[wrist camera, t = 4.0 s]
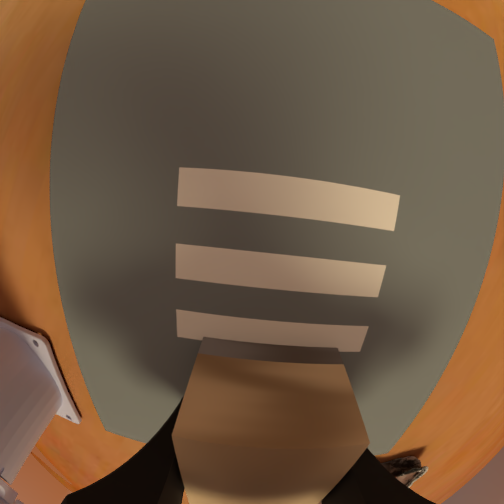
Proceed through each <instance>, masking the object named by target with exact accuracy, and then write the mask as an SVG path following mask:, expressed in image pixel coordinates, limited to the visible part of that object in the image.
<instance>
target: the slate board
mask: <svg viewBox="0 0 504 504" xmlns="http://www.w3.org/2000/svg"><path fill="white" fill-rule="evenodd" d="M503 179H504V98H503V89H502V81H501V74H500V68H499V62H498V57H497V52H496V48H495V43H494V39H492V38H491V37H490V36H488V35H487V34H486V33H484V32H483V31H481V30H480V29H479V28H477V27H476V26H474V25H473V24H471V23H470V22H468V21H467V20H465V19H463V18H462V17H460V16H459V15H457V14H455V13H453V12H452V11H450V10H448V9H447V8H445V7H443V6H441V5H439V4H437V3H435V2H434V1H432V0H86V1H85V4H84V6H83V8H82V11H81V14H80V16H79V19H78V22H77V24H76V27H75V30H74V33H73V36H72V39H71V43H70V46H69V49H68V53H67V57H66V60H65V64H64V68H63V73H62V77H61V82H60V87H59V92H58V97H57V103H56V110H55V117H54V124H53V133H52V144H51V159H50V215H51V231H52V242H53V251H54V259H55V266H56V273H57V279H58V285H59V291H60V296H61V301H62V305H63V310H64V314H65V318H66V323H67V326H68V330H69V334H70V338H71V341H72V345H73V348H74V351H75V355H76V358H77V361H78V364H79V367H80V370H81V373H82V375H83V378H84V381H85V384H86V386H87V389H88V391H89V394H90V396H91V399H92V401H93V404H94V406H95V408H96V411H97V413H98V415H99V417H100V419H101V422H102V424H103V426H104V428H105V430H106V431H109V432H112V433H115V434H118V435H121V436H124V437H127V438H130V439H133V440H137V441H140V442H143V443H148V441H149V440H150V439H151V438H152V437H153V436H154V435H155V434H156V433H157V432H158V431H159V429H160V428H161V427H162V426H163V424H164V423H165V422H166V421H167V420H168V418H169V417H170V415H171V414H172V413H173V411H174V410H175V408H176V407H177V405H178V404H179V402H180V401H181V399H182V397H183V396H184V395H185V391H186V388H187V385H188V382H189V379H190V376H191V373H192V370H193V367H194V364H195V361H196V358H197V354H198V351H199V348H200V345H201V342H202V339H203V337H210V338H217V339H225V340H233V341H242V342H252V343H263V344H274V345H288V346H304V347H328V348H338V350H339V353H340V356H341V358H342V361H343V364H344V367H345V369H346V372H347V375H348V378H349V381H350V384H351V386H352V389H353V392H354V395H355V398H356V401H357V404H358V407H359V410H360V413H361V416H362V419H363V422H364V425H365V428H366V432H367V435H368V438H369V441H370V444H369V446H368V447H367V448H368V449H369V450H370V452H371V453H372V454H373V455H379V454H385V453H388V452H389V451H390V450H391V449H392V447H393V446H394V445H395V444H396V442H397V441H398V440H399V439H400V437H401V436H402V435H403V433H404V432H405V431H406V429H407V428H408V427H409V425H410V424H411V423H412V421H413V420H414V418H415V417H416V416H417V414H418V413H419V411H420V410H421V408H422V407H423V405H424V404H425V402H426V401H427V399H428V397H429V396H430V394H431V393H432V391H433V389H434V388H435V386H436V384H437V383H438V381H439V379H440V377H441V376H442V374H443V372H444V370H445V368H446V367H447V365H448V363H449V361H450V359H451V357H452V355H453V353H454V351H455V349H456V347H457V345H458V343H459V341H460V338H461V336H462V334H463V332H464V329H465V327H466V325H467V322H468V320H469V318H470V315H471V313H472V310H473V307H474V305H475V302H476V299H477V296H478V294H479V291H480V288H481V285H482V282H483V278H484V275H485V272H486V269H487V265H488V261H489V258H490V254H491V250H492V246H493V241H494V237H495V232H496V227H497V222H498V217H499V211H500V204H501V197H502V189H503Z"/></svg>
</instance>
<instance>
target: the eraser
mask: <svg viewBox="0 0 504 504" xmlns="http://www.w3.org/2000/svg"><path fill="white" fill-rule="evenodd" d="M172 440H173V444H174V449H175V453H176V457H177V461H178V465H179V469H180V473H181V477H182V480H183V484H184V488H185V491H186V494H187V498H188V501H189V504H318V503H319V502H320V501H321V500H322V499H323V498H324V497H325V496H326V495H327V494H328V493H329V492H330V491H331V490H332V489H333V488H334V487H335V486H336V485H337V483H338V482H339V481H340V480H341V479H342V478H343V477H344V476H345V474H346V473H347V472H348V471H349V470H350V468H351V467H352V466H353V465H354V464H355V462H356V461H357V460H358V459H359V457H360V456H361V455H362V454H363V452H364V451H365V450H366V448H367V447H368V446H369V444H370V441H369V438H368V435H367V432H366V428H365V425H364V422H363V419H362V416H361V413H360V410H359V407H358V404H357V401H356V398H355V395H354V392H353V389H352V386H351V384H350V381H349V378H348V375H347V372H346V369H345V367H344V364H343V361H342V358H341V356H340V353H339V350H338V348H328V347H304V346H288V345H274V344H263V343H252V342H242V341H233V340H225V339H217V338H210V337H203V339H202V342H201V345H200V348H199V351H198V354H197V358H196V361H195V364H194V367H193V370H192V373H191V376H190V379H189V382H188V385H187V388H186V391H185V395H184V398H183V401H182V404H181V407H180V410H179V413H178V417H177V420H176V423H175V426H174V429H173V433H172Z"/></svg>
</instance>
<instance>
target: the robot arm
mask: <svg viewBox="0 0 504 504" xmlns="http://www.w3.org/2000/svg"><path fill="white" fill-rule="evenodd" d="M183 398H184V396H183V397H182V399H181V401H180V402H179V404H178V405H177V407H176V408H175V410H174V411H173V413H172V414H171V415H170V417H169V418H168V420H167V421H166V422H165V423H164V424H163V426H162V427H161V428H160V429H159V431H158V432H157V433H156V434H155V435H154V436H153V437H152V438H151V439H150V440H149V441H148V443H147V444H146V445H145V446H144V447H143V448H142V449H141V450H139V451H138V452H137V453H136V454H135V455H134V456H133V457H132V458H130V459H129V460H128V461H127V462H125V463H124V464H123V465H121V466H120V467H119V468H117V469H116V470H115V471H113V472H112V473H110V474H109V475H107V476H105V477H104V478H102V479H100V480H98V481H97V482H95V483H93V484H91V485H89V486H87V487H85V488H83V489H80V490H78V491H76V492H73V493H71V494H68V495H67V496H66V497H65V499H64V500H63V501H62V503H61V504H181V503H182V498H183V492H184V484H183V480H182V477H181V473H180V469H179V465H178V461H177V457H176V453H175V449H174V444H173V440H172V433H173V429H174V426H175V423H176V420H177V417H178V413H179V410H180V407H181V404H182V401H183ZM55 414H57V415H59V416H61V417H64V418H66V419H68V420H70V421H72V422H74V423H77V424H80V422H81V417H80V416H79V414H78V412H77V410H76V408H75V405H74V403H73V401H72V399H71V397H70V395H69V393H68V390H67V388H66V386H65V384H64V381H63V379H62V376H61V374H60V371H59V369H58V366H57V364H56V361H55V358H54V355H53V353H52V350H51V347H50V344H49V342H48V340H47V339H46V338H45V337H44V336H42V335H39V334H37V333H34V332H32V331H30V330H27V329H25V328H23V327H20V326H18V325H16V324H14V323H12V322H10V321H8V320H6V319H3V318H1V317H0V477H1V478H3V479H4V480H5V481H6V482H8V483H9V484H12V482H13V481H14V479H15V477H16V475H17V474H18V472H19V470H20V469H21V467H22V465H23V463H24V462H25V460H26V459H27V457H28V455H29V454H30V452H31V450H32V449H33V447H34V446H35V444H36V443H37V441H38V440H39V438H40V436H41V435H42V433H43V432H44V430H45V429H46V427H47V426H48V424H49V423H50V421H51V420H52V418H53V417H54V415H55ZM1 478H0V504H24V503H22V502H21V501H19V500H16V501H15V498H16V497H17V495H18V493H17V492H15V491H14V490H13V489H12V488H11V487H10V486H9V485H7V484H6V483H5V482H4V481H3V480H2V479H1ZM321 501H322V504H436V503H433V502H431V501H429V500H427V499H425V498H424V497H422V496H420V495H419V494H417V493H415V492H414V491H413V490H411V489H410V488H408V487H407V486H406V485H404V484H403V483H402V482H400V481H399V480H398V479H397V478H396V477H394V476H393V475H392V474H391V473H390V472H389V471H388V470H387V469H386V468H385V467H384V466H383V465H382V464H381V463H380V462H379V461H378V460H377V459H376V457H375V456H374V455H373V454H372V453H371V452H370V450H369V449H368V448H366V450H365V451H364V452H363V454H362V455H361V456H360V457H359V459H358V460H357V461H356V462H355V464H354V465H353V466H352V467H351V468H350V470H349V471H348V472H347V473H346V474H345V476H344V477H343V478H342V479H341V480H340V481H339V482H338V483H337V485H336V486H335V487H334V488H333V489H332V490H331V491H330V492H329V493H328V494H327V495H326V496H325V497H324V498H323V499H322V500H321Z"/></svg>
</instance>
